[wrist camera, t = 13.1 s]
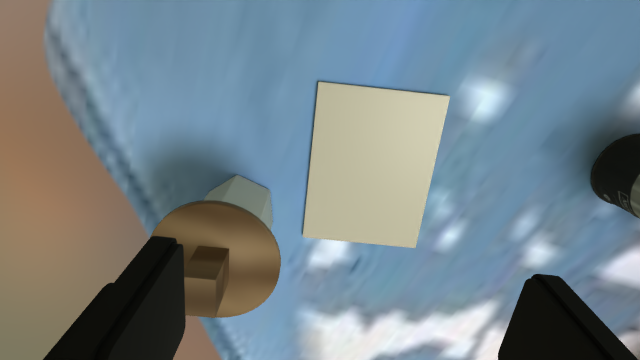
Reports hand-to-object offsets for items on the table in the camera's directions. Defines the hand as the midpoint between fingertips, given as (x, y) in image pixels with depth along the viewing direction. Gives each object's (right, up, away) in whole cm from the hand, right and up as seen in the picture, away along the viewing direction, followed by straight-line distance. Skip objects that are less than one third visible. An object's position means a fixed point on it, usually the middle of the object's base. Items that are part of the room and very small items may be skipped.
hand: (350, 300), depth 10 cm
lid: (-11, -5, +28) cm, 31 cm away
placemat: (+5, +4, +37) cm, 38 cm away
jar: (-11, 0, +39) cm, 41 cm away
